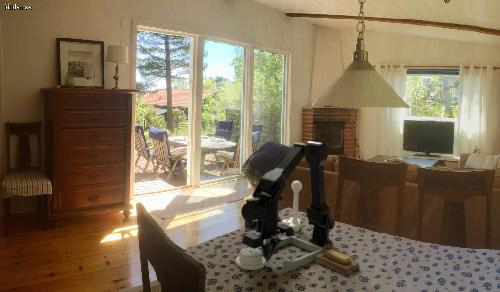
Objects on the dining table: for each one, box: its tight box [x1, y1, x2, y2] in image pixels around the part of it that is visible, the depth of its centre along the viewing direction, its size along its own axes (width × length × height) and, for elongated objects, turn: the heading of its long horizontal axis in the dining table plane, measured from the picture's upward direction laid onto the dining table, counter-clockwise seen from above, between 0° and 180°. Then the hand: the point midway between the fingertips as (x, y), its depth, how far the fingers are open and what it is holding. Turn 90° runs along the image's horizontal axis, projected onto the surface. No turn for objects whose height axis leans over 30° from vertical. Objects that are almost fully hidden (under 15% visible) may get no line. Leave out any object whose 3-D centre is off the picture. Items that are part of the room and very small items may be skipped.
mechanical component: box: [235, 246, 267, 271], centre depth 133 cm, size 10×4×10 cm
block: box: [325, 249, 352, 266], centre depth 134 cm, size 8×3×4 cm, turn 42°
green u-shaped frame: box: [257, 235, 326, 274], centre depth 139 cm, size 20×16×2 cm
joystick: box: [281, 180, 303, 233], centre depth 167 cm, size 11×8×20 cm
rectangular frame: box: [314, 251, 360, 276], centre depth 134 cm, size 7×12×2 cm, turn 42°
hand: (267, 259), depth 133 cm, fingers closed
